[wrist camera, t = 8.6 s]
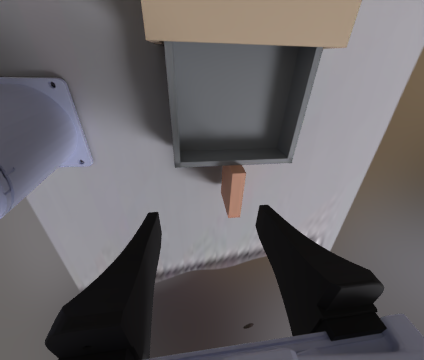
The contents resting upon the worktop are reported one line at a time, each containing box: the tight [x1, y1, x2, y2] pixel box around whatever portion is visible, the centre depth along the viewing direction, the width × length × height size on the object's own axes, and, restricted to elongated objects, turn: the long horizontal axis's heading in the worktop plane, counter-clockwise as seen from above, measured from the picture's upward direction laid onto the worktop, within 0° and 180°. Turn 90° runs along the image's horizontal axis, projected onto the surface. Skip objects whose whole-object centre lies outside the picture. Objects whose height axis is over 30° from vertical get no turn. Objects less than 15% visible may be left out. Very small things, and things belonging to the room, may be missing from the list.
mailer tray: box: [164, 41, 323, 218], centre depth 16 cm, size 20×11×4 cm, turn 178°
